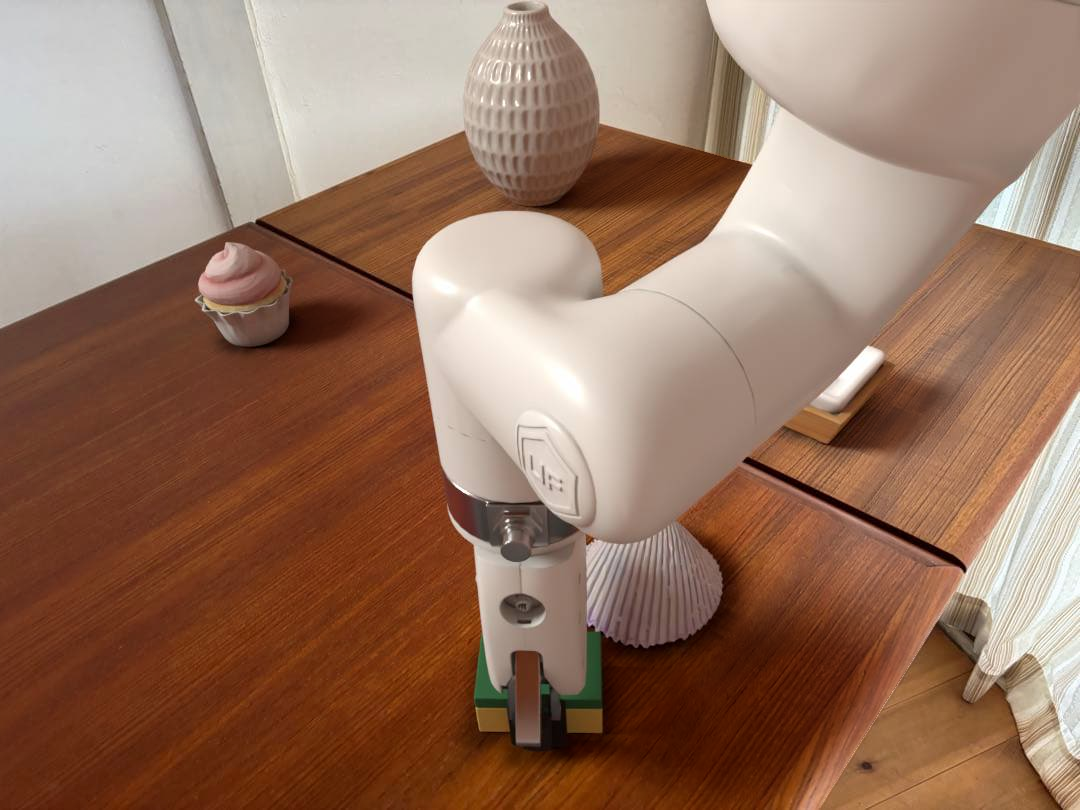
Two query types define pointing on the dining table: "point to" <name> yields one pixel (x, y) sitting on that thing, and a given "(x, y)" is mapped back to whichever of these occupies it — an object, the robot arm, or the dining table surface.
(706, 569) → the seashell
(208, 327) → the dining table surface
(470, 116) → the vase
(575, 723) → the scrub sponge
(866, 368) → the soap dish
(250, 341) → the cupcake
